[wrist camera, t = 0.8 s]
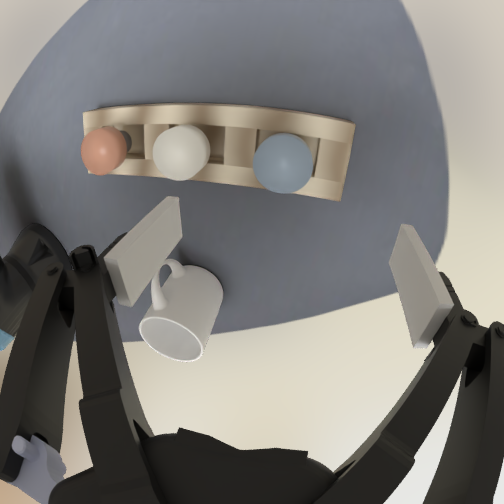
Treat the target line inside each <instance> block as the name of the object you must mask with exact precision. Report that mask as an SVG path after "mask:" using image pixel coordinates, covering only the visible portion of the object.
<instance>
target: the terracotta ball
mask: <svg viewBox="0 0 504 504" xmlns="http://www.w3.org/2000/svg"><path fill="white" fill-rule="evenodd" d="M131 146H132V140H131V137H130V135H129V134H128V133H127V132H126V131H123V130H120V131H119V130H118V129H116V128H115V127H112V126H105V127H102V128H99V129H96V130H94V131H91V132H89V133H88V134H87V135H86V136H85V137H84V139H83V141H82V145H81V156H82V160H83V162H84V164H85V166H86V167H87V169H88V170H89V171H90V172H92V173H93V174H95V175H105V174H107V173H109V172H111V171H112V170H114V169H116V168H117V167H119V166H120V165H121V164H122V163H123V162H124V160H125V157H126V154H127V152H128V151H129V150H130V149H131Z"/></svg>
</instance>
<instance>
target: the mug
mask: <svg viewBox="0 0 504 504" xmlns="http://www.w3.org/2000/svg"><path fill="white" fill-rule="evenodd" d="M165 264H168V265H169V266H170V267H171V270H172V273H171V274H170V276H169V277H168V279H167V280H166V282H165V283H164V285H163V286H162V288H161V287H160V283H159V272H160V269H161V267H162V266H163V265H165ZM151 295H152V302H153V303H152V304H151V306H150V307H149V309H148V311H147V312H146V314H145V316H144V317H143V319H142V321H141V322H140V325H139V330H140V334H141V336H142V338H143V339H144V341H145V342H146V343H147V344H148V345H149V346H150V347H151V348H152V349H153V350H155V351H156V352H158V353H159V354H161V355H163V356H165V357H167V358H170V359H173V360H177V361H182V362H192V361H195V360H198V359H199V358H200V357H201V356H202V355H203V352H204V349H205V347H206V344H207V341H208V338H209V336H210V333H211V330H212V328H213V325H214V322H215V320H216V317H217V314H218V311H219V309H220V306H221V303H222V300H223V289H222V286H221V284H220V282H219V281H218V279H217V278H216V277H215V276H214V275H213V274H212V273H210V272H209V271H207V270H206V269H204V268H201V267H198V266H193V265H186V266H182V265H181V264H180V263H179V262H178V261H176V260H174V259H166V260H165V261H164V262H163V264H162V265H161V266H160V268H159V269H158V271H157V272H156V273H155V275H154V276H153V278H152V283H151Z"/></svg>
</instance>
